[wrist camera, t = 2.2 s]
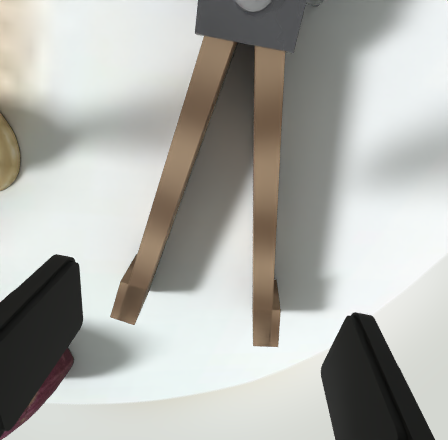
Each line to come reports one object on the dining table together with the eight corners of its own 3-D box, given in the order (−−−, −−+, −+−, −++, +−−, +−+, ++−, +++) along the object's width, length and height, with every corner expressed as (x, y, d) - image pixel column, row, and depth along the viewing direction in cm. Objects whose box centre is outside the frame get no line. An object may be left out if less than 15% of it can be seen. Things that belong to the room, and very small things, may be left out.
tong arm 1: (254, 27, 16) (255, 19, 13) (290, 25, 16) (300, 16, 13) (252, 313, 27) (253, 346, 24) (274, 314, 27) (278, 346, 24)
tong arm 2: (210, 10, 16) (201, -3, 13) (243, 25, 16) (242, 17, 13) (126, 287, 26) (110, 317, 23) (147, 294, 27) (134, 325, 24)
